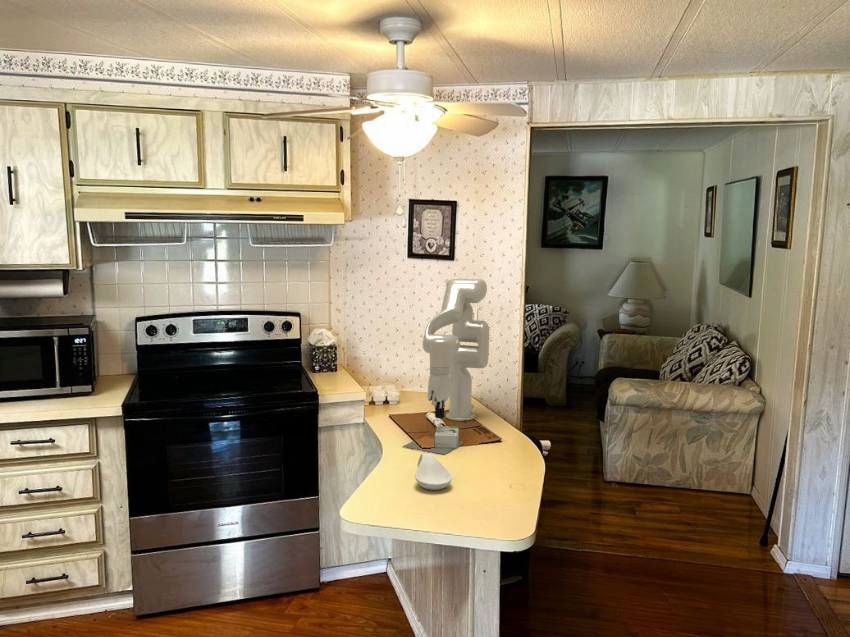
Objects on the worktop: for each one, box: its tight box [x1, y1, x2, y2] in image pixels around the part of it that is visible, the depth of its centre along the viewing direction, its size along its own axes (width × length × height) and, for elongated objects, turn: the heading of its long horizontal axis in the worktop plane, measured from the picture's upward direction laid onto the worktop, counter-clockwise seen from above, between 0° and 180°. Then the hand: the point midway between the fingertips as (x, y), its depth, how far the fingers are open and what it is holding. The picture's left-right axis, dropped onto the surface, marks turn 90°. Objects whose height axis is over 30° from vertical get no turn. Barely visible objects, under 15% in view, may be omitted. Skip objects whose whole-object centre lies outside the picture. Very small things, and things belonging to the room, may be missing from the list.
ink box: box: [434, 425, 460, 449], centre depth 261 cm, size 9×5×12 cm
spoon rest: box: [414, 452, 453, 491], centre depth 224 cm, size 24×12×7 cm, turn 11°
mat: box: [402, 435, 466, 456], centre depth 260 cm, size 16×18×1 cm
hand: (439, 417), depth 263 cm, fingers closed
